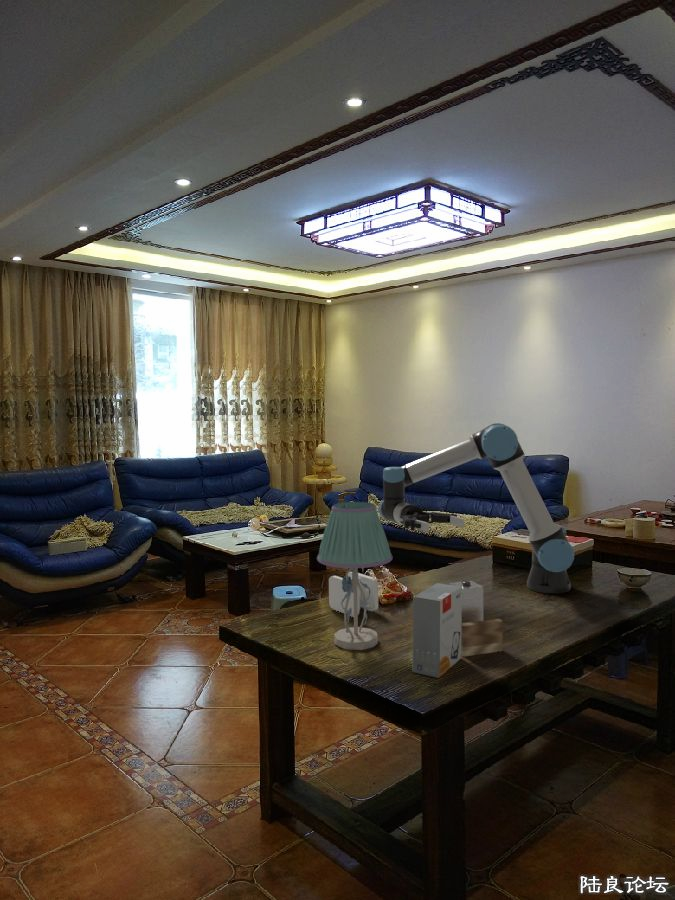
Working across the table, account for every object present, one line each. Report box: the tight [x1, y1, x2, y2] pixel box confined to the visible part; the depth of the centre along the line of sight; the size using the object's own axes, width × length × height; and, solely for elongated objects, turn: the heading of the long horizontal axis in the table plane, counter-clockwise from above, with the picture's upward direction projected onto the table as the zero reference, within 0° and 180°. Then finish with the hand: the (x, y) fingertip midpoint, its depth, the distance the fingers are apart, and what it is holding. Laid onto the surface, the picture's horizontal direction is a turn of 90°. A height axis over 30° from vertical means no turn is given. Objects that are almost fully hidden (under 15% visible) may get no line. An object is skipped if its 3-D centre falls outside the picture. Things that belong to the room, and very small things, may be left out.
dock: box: [461, 618, 504, 658], centre depth 188 cm, size 12×18×8 cm, turn 17°
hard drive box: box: [411, 582, 462, 679], centre depth 171 cm, size 16×8×20 cm, turn 148°
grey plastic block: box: [328, 571, 379, 618], centre depth 218 cm, size 15×11×12 cm
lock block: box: [448, 580, 484, 623], centre depth 188 cm, size 7×7×15 cm
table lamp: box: [316, 501, 393, 651], centre depth 188 cm, size 22×22×40 cm
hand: (446, 525), depth 206 cm, fingers open, 13 cm apart
